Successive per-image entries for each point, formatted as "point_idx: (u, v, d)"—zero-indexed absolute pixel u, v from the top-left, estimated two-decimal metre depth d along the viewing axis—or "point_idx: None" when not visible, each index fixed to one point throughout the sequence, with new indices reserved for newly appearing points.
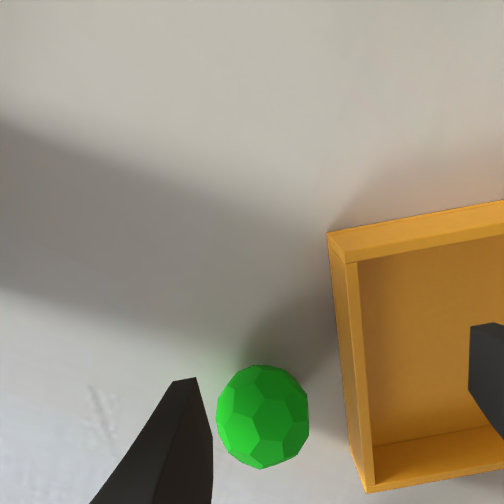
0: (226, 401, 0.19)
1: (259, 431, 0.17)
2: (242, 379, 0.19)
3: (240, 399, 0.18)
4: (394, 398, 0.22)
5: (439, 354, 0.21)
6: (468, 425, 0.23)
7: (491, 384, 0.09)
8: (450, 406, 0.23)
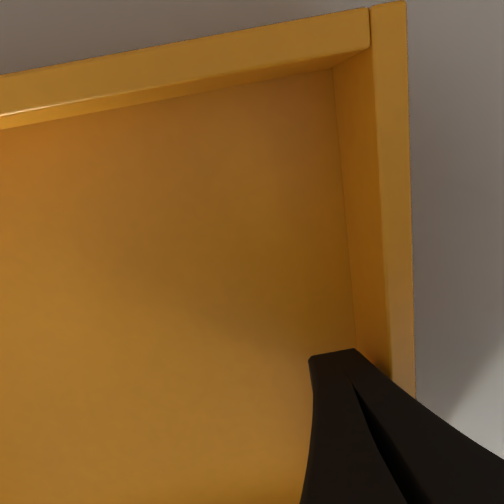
0: None
1: None
2: None
3: None
4: (266, 491, 0.13)
5: (172, 445, 0.12)
6: None
7: None
8: (293, 405, 0.11)
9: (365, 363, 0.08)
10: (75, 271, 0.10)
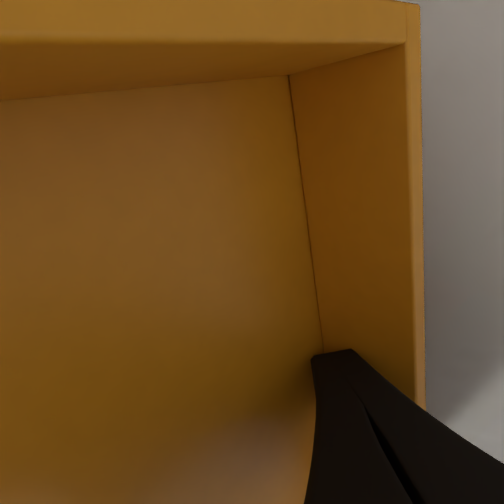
0: None
1: None
2: None
3: None
4: None
5: None
6: None
7: None
8: (286, 470, 0.09)
9: (362, 364, 0.08)
10: None
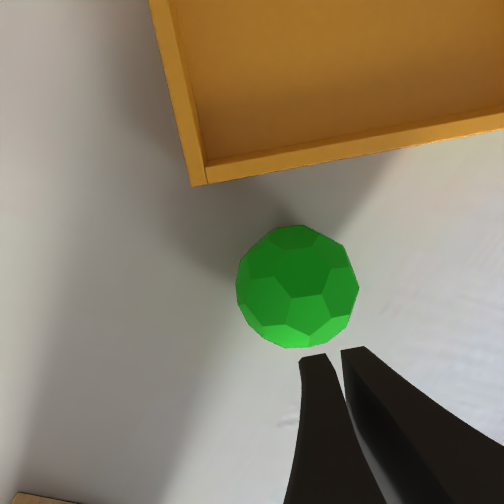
0: None
1: (276, 322, 0.13)
2: None
3: (252, 325, 0.15)
4: (458, 51, 0.14)
5: None
6: None
7: (355, 409, 0.09)
8: None
9: (376, 361, 0.08)
10: None
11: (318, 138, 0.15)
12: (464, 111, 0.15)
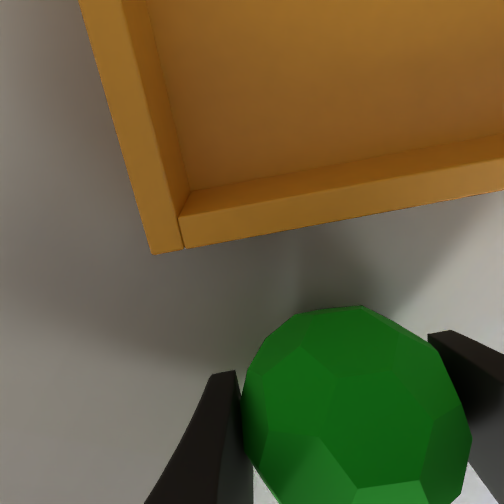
0: None
1: None
2: None
3: (271, 491, 0.08)
4: None
5: None
6: None
7: None
8: None
9: (474, 343, 0.08)
10: None
11: (386, 152, 0.09)
12: None
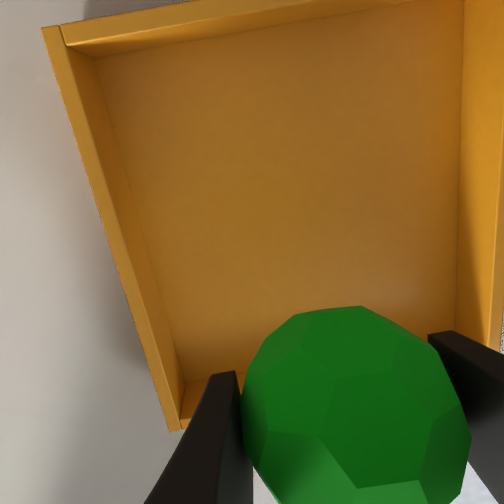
0: None
1: None
2: None
3: (270, 491, 0.08)
4: (384, 307, 0.18)
5: (327, 265, 0.17)
6: (451, 204, 0.16)
7: None
8: (411, 235, 0.17)
9: (474, 343, 0.08)
10: (288, 127, 0.15)
11: None
12: None
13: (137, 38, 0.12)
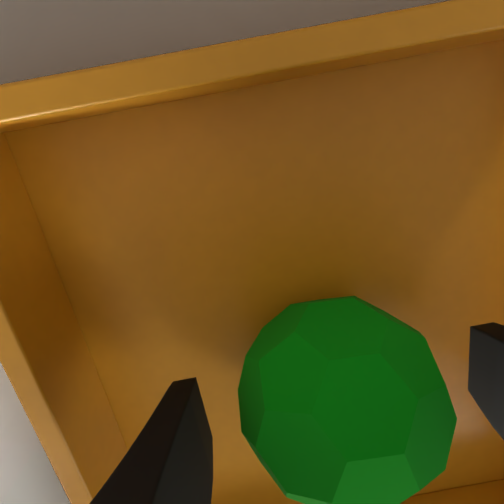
0: None
1: (315, 494, 0.07)
2: None
3: (267, 470, 0.09)
4: None
5: None
6: None
7: (491, 384, 0.09)
8: None
9: None
10: (304, 222, 0.10)
11: None
12: (441, 489, 0.14)
13: (56, 115, 0.07)
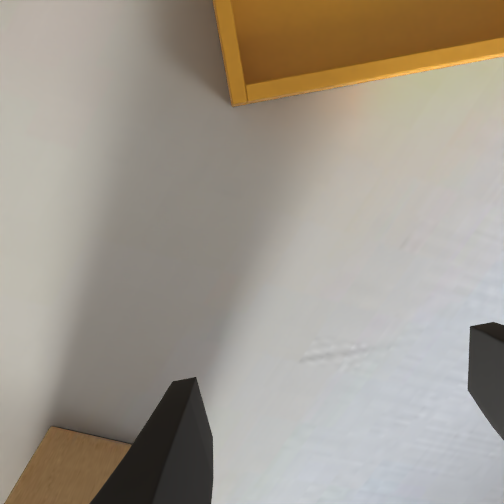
0: None
1: None
2: None
3: None
4: None
5: None
6: None
7: (491, 384, 0.09)
8: None
9: None
10: None
11: None
12: None
13: None
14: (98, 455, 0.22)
